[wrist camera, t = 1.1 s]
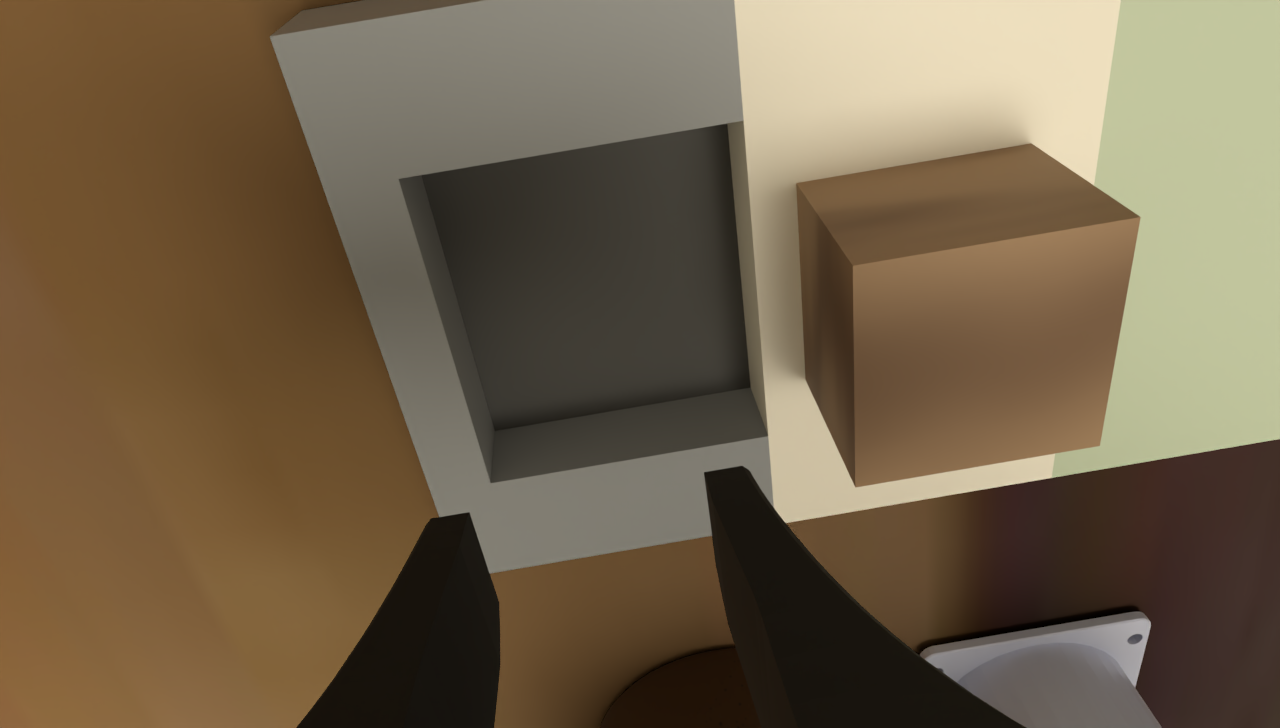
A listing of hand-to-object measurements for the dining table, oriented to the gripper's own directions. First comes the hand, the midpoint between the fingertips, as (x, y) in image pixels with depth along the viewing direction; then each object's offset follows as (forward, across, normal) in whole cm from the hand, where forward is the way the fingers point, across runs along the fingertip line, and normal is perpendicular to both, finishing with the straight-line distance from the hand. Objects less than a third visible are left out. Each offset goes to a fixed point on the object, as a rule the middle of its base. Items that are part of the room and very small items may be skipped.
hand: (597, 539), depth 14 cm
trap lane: (+9, -12, 0) cm, 15 cm away
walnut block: (+7, -8, 0) cm, 10 cm away
